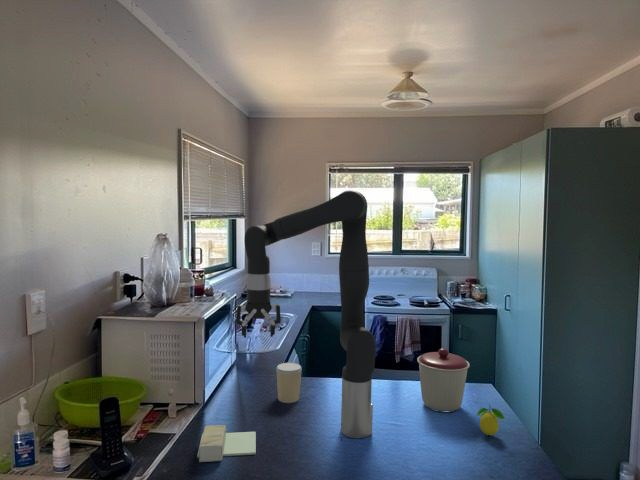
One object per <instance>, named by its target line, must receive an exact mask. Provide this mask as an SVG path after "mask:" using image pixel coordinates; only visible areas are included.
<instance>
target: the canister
mask: <svg viewBox="0 0 640 480" xmlns="http://www.w3.org/2000/svg"><path fill="white" fill-rule="evenodd" d="M416 360H417V363H418V369H419V381H420V392H421V400H422V402H423V403H424V405H425V406H426V407H427V408H428V407H429V408H428V409H430V408H431V409H430V410H432V409H433V410H432V411H435V410H437V411H436V412H439V411H453V412H456V411H458V410H459V409H460V408H461V406H462V404H463V399H464V395H465V394H464V393H465V387H466V381H467V375H468V369H469V368H470V366H471V365H470V362H469V361H467V360H466V358H464V357H462V356H461V355H457V354H453V353H449V350H448V349H447V348H444V347H442V348H439V349H438V351H430V352H426V353H423V354H421V355H419V356H418V357H417V359H416ZM457 409H458V410H457ZM455 410H456V411H455Z"/></svg>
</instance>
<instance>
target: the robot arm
mask: <svg viewBox="0 0 640 480" xmlns="http://www.w3.org/2000/svg"><path fill="white" fill-rule="evenodd" d="M367 213H368V200H367V199H366V196H364V194H362V192H360V191H357V190H353V189H347V190H345V191H343V192H341V193H340V194H337V195H336V196H334V197H332V198H331V199H329V200H327V201H324V202H322V203H320V204H318V205H315V206H313V207H310V208H307V209H302V210H299V211H296V212H293V213H290V214H286V215H284V216H281V217H277V218H276V219H275V220H274V221H271V222H268V223H265V224H261V225H252V226H249V228H247V230H246V231H245V233H244V247H245V252H246V257H247V278H246V305H242V304H237V307H236V316H235V317H236V320H235V323H236V325H239V326H241V336H243V338H247V324H248V323H249V322H250V320H251V319H254V320H257V319H260V320H261V319H262V320H263V319H265V318H266V319H267V321H268V322H269V323H270V325H269V326H270V328H269V329H270V332H269V333H270V334H269V335H270V337H271V338H273V336H274V335H275V334H276V325H278V324H281V322H282V319H281V306H280V304H279V303H276V304H272V303H271V274H270V271H271V269H270V268H271V267H270V265H271V264H270V263H271V262H270V257H269V256H268V255H267V250H266V247H267V246H271V245H273V244H275V243H278V242H280V241H283V240H286V239H290V238H294V237H296V236H299V235H301V234H302V235H303V234H305V233H307V232H309V231H312V230H314V229H316V228H319V227H323V226H326V225H329V224H333V223H339V222H341V229H342V239H341V240H342V241H341V247H340V253H339V260H338V261H339V262H338V275H339V276H338V278H339V293H340V304H341V307H340V308H341V316H340V319H341V320H340V328H339V329H340V331H339V332H340V333H339V341H340V345H341V348H343V349H344V351H346V359H345V361H346V364H345V366H343V368H342V369H341V371H342V373H341V375H342V376H341V403H340V404H341V406H340V409H341V410H340V432H341V434H342V435H343V436H345V437H347V438H351V439H362V438H367V437H369V436H373V417H374V415H373V412H374V411H373V410H374V406H373V403H372V385H373V384H372V383H373V382H372V379H373V374H374V373H373V372H374V369H375V363H376V349H377V347H376V338H375V335H374V334H373V333H372V332H371V331H369V330H368V329H367V328H366V326H365V316H364V314H365V313H364V306H365V300H366V298H367V295H368V292H369V286H370V269H369V267H370V266H369V264H370V263H369V254H368V253H369V252H368V245H367V243H368V242H367V236H366V235H367V232H366V229H367V216H368V215H367ZM244 310H245V311H246V312H247V314H246V315H245V317H244V319H243V320H241V314H242V313H243V312H244ZM272 310H273V311H274V312H275V317H276V319H274V318H273V317H272V316H271V314H270V312H271V311H272Z"/></svg>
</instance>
